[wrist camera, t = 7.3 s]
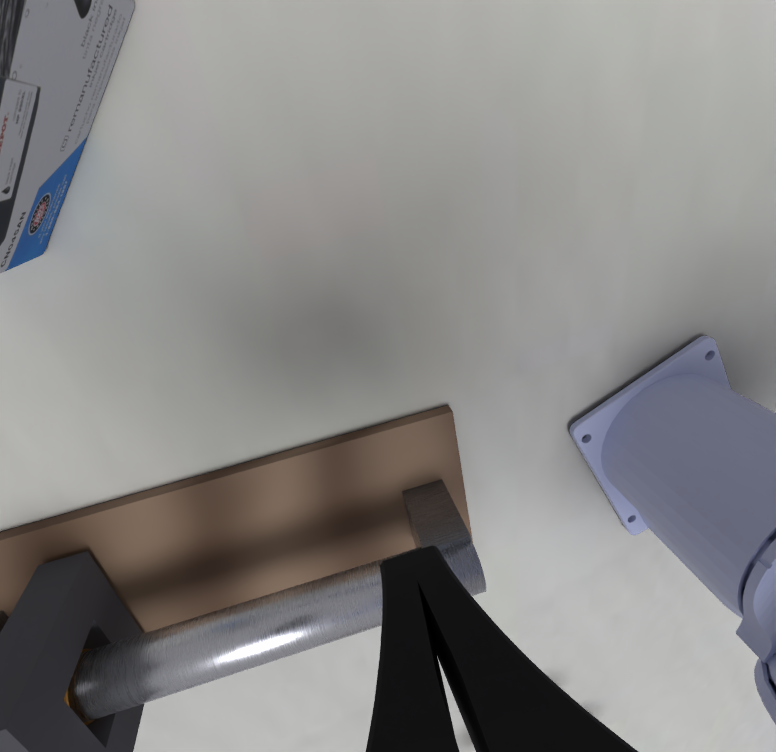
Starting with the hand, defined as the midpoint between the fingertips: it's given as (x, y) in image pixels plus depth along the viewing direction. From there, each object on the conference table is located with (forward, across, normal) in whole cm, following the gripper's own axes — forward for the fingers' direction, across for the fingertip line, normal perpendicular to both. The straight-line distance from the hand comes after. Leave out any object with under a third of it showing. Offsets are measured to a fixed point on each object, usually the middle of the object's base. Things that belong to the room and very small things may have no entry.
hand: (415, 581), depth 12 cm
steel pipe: (+10, +8, +7) cm, 15 cm away
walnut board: (+10, +8, +7) cm, 15 cm away
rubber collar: (+10, +14, +7) cm, 18 cm away
